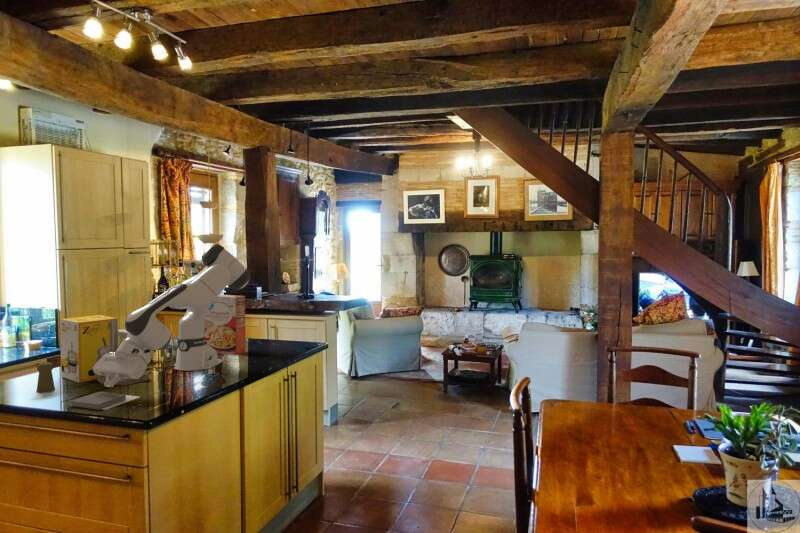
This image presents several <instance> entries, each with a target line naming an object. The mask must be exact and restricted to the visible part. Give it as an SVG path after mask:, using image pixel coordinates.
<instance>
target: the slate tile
mask: <svg viewBox="0 0 800 533" xmlns="http://www.w3.org/2000/svg"><path fill="white" fill-rule="evenodd" d="M126 395H127V394H123V393H115V392H107V391H97V392H95V393H91V394H88V395H85V396H82V397H79V398H75V399H73V400H71V402H70V406H71V407H78V408H83V409H84V408H85V409H91V410H102V409H101V408H104V407H107V406H110V405H112V404H115V403H118V402H121V401H124V400H126Z"/></svg>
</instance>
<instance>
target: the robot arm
mask: <svg viewBox="0 0 800 533" xmlns="http://www.w3.org/2000/svg"><path fill="white" fill-rule="evenodd" d="M201 261H202V263H203V267H204V268H203V269H201V270H200V271H199V272H198V273H197V274H195V275H193V276H191V277H189V278H188V279H186V280H184V281H182V282H181V283H177V284H175V285H173V286H172V287H169V288H168V289H166V291H163V292H162V293H161V294H159V295H158V296H156V297H155V298H154V299H152V300H150V301H148V302H147V303H146V304H145V305H144V304H143V305H142V306H140V307H138V308H137V309H134V310H133V311H131V312H130V313H128V315H127V316H126V317H125V321H124V329H126V331H128V334H127V337H126V338H125V339H124V340H123V341H122V343H121V344H120V346H119V347H118V349H117V350H116V352H115V353H112V352H109V353H108V354H105V355H104V356H103V357H101V358H100V360H99V361H98V362H97V363H96V364H95V366H94V367H93V371H94V372H95V373H96V374H97V375H103V376H106V381H105V383H103V386H105V387H107V388H114V386H115V385H114V384H115V383H117V382H118V381H119V380H121V378H132V379H139V378H140V377H141V376H142V375H143V373H144V372H146V370H147V368H148V364H149V363H150V362H151V357H150V358H149V357H148V356H147V355H146V354H145V353H144V351H145V349H150V351H161V350H164V349H165V348H167V347H168V345H169V344H170V342H171V340H172V338H173V337H172V336H173V335H172V331H170V329H169V328H168V327H167V326H165V324H163V323H162V322H161V321H160V320H159V319H158V318H156V317H155V316H156V315H157V314H158V313H160V312H161V311H163V310H164V309H165V308H167V307H169V308H170V309H176V310H184V309H186V312H185V314H184V316H182V317H181V318H180V319H179V322H178V338H177V346H178V348H177V350H176V359H175V360H176V361H175V363H174V367H175V370H178V371H186V372H187V371H191V372H192V371H200V370H209V369H212V368H214V367H215V366H218V365H220V364H221V363H223V359H220V358H218V353H216V350H215V349H213V348H212V347H210V346H209V345H208V344H207V341H206V340H208V341H209V340H210V338H211V337H210V336H206V337H205V336H204V328H205V318H206V314H207V311H208V309H209V307H210V306H211V304H212V303H213V302H214V301H215V299H216V297H217V296H218V295H221V293H222V292H223V291H224V290H225V289H226V287H227V286H228V288H229V289H231V290H233V291H239V290H241V289H243V288H245V287H246V286H247V285H248V283H249V281H250V279H251V274H250V272H249V270H248V269H246V267H244V264H242V262H240V260H239V259H238V258H237V257H235V256H234V255H233V254H232V253H231V252H229V251H228V250H227V249H226V248H225V247H224V246H223V245H221V244H219V243H215V244H213V245H210V246H208V247H207V248H205V250H204V252H203V253H202V256H201ZM113 377H114V378H113ZM111 379H112V380H111Z"/></svg>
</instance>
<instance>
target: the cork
mask: <svg viewBox="0 0 800 533" xmlns="http://www.w3.org/2000/svg"><path fill="white" fill-rule="evenodd" d="M36 369H37V372H38V375H37V376H38V379H37V385H36V393H37V394H38V393H39V394H44V393H46V394H47V393H50V392H53V391H55V390H56V389H55V388H56V387H55V382H54V377H53V370H54V364H53V362H47V361H44V362H41V363H38V364H37V367H36Z"/></svg>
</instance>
